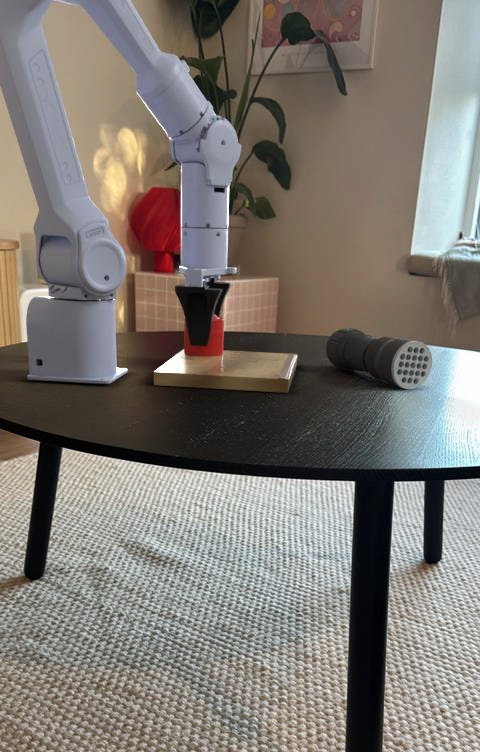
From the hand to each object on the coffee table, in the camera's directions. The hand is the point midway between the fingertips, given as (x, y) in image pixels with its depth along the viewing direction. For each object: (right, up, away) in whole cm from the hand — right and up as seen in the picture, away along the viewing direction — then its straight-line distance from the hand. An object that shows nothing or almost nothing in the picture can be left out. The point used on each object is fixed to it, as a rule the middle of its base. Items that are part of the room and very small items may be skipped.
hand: (202, 342), depth 96 cm
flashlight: (+21, -5, -3) cm, 22 cm away
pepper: (0, -1, +1) cm, 1 cm away
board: (+4, -5, -5) cm, 8 cm away
